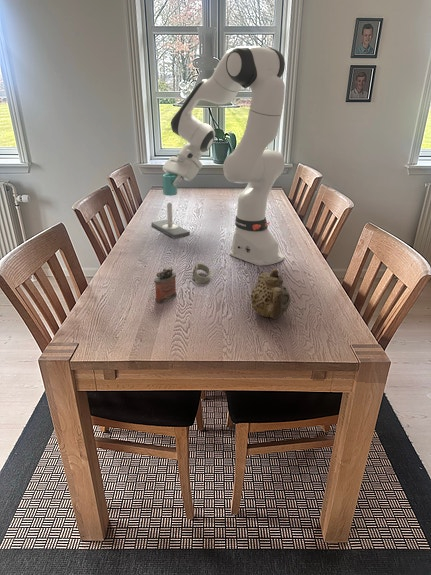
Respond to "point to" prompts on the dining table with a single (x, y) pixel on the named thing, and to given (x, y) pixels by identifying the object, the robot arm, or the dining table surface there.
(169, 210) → the post stand
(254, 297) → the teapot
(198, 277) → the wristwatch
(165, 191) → the collar
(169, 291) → the lighter
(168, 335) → the dining table surface
